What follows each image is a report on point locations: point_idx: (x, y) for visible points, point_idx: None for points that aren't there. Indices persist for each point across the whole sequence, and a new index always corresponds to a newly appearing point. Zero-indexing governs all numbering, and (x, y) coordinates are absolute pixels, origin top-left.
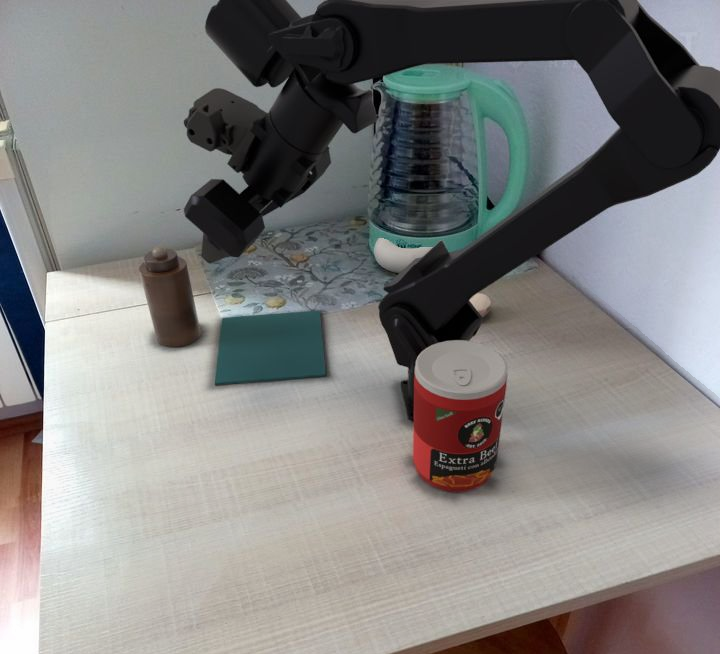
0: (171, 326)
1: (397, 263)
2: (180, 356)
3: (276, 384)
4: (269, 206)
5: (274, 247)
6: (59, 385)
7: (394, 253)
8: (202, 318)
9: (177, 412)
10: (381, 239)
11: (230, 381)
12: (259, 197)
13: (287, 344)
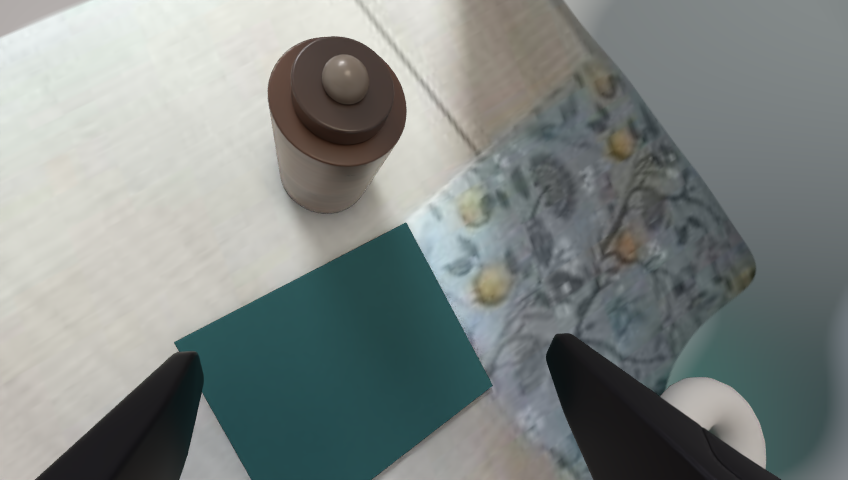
0: (282, 174)
1: None
2: (257, 213)
3: (224, 461)
4: (600, 467)
5: (640, 186)
6: (62, 28)
7: None
8: (397, 183)
9: (41, 325)
10: (710, 402)
11: None
12: (626, 431)
13: (364, 399)
